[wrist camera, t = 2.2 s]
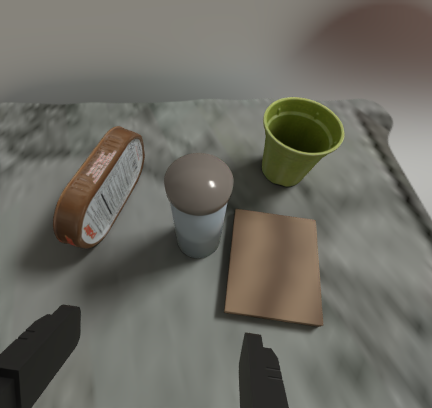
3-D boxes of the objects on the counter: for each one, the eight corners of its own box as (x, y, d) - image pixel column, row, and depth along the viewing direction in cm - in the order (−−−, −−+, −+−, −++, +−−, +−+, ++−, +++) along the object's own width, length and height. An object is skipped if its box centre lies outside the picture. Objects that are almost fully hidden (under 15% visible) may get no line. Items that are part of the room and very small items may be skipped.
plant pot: (286, 137, 41) (306, 88, 33) (328, 180, 37) (361, 135, 30) (237, 159, 38) (247, 111, 30) (277, 208, 34) (300, 167, 27)
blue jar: (170, 256, 30) (156, 204, 20) (180, 213, 33) (172, 149, 22) (218, 263, 30) (229, 214, 20) (224, 220, 33) (236, 157, 22)
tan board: (223, 312, 27) (224, 310, 26) (234, 213, 33) (235, 208, 32) (318, 326, 27) (323, 325, 26) (311, 224, 33) (315, 220, 32)
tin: (132, 157, 37) (116, 109, 30) (153, 163, 37) (142, 116, 29) (72, 253, 30) (32, 220, 22) (98, 262, 29) (65, 231, 22)
